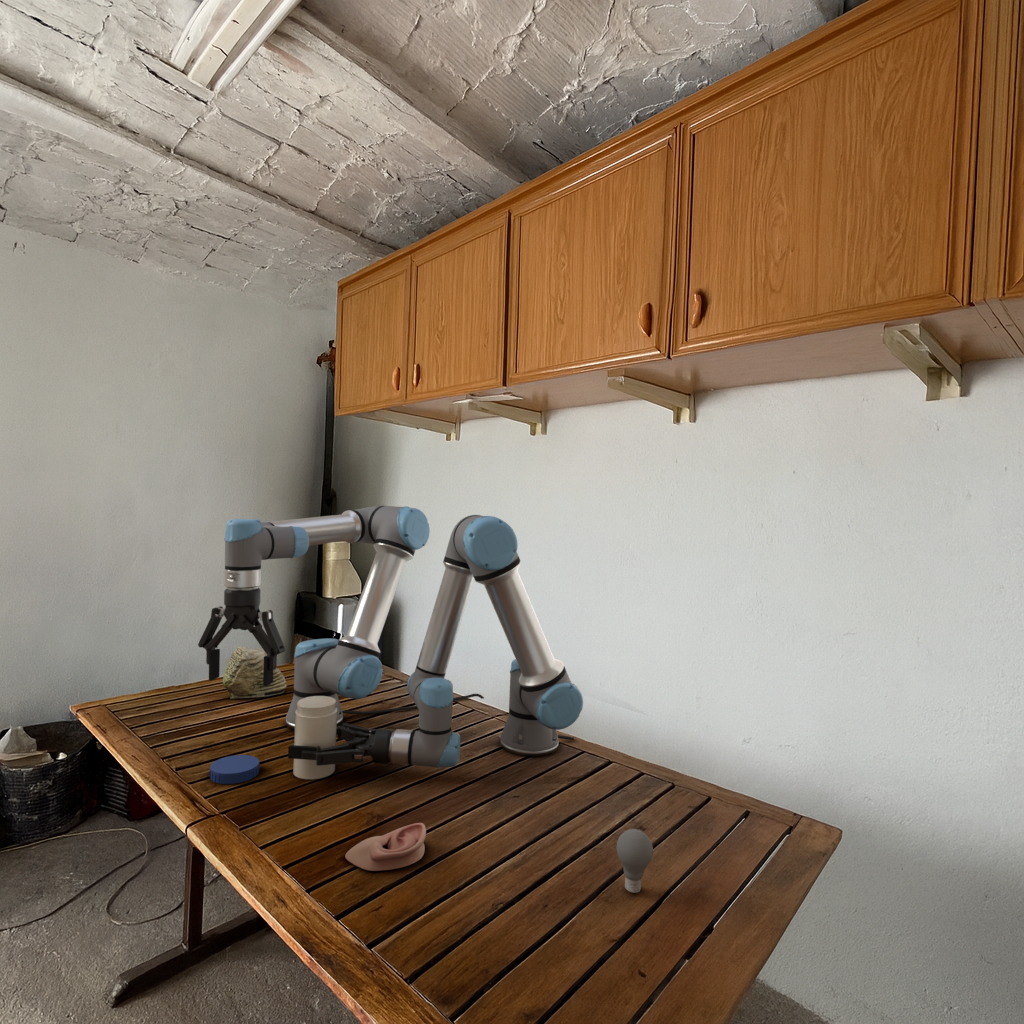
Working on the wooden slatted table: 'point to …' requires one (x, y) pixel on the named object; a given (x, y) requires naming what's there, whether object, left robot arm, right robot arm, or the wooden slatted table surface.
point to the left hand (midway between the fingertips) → (240, 681)
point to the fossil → (250, 675)
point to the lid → (234, 769)
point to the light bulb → (634, 857)
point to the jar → (315, 733)
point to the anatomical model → (390, 849)
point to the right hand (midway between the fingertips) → (299, 740)
